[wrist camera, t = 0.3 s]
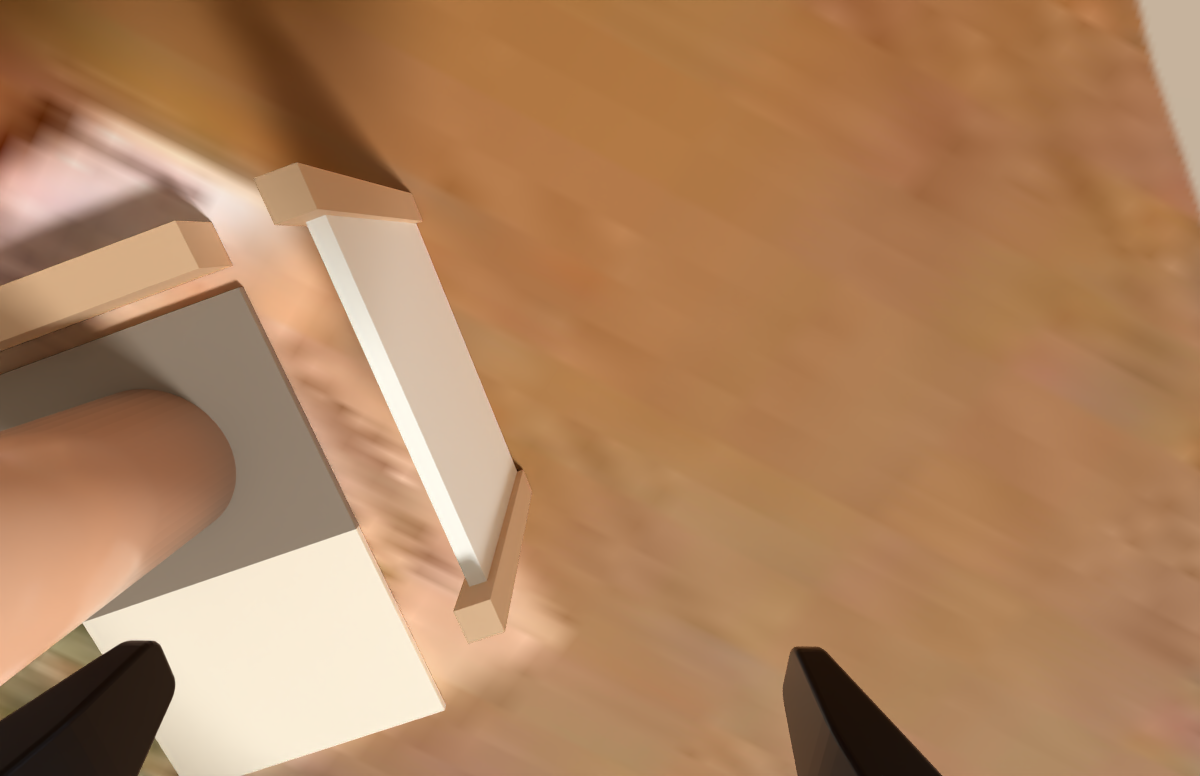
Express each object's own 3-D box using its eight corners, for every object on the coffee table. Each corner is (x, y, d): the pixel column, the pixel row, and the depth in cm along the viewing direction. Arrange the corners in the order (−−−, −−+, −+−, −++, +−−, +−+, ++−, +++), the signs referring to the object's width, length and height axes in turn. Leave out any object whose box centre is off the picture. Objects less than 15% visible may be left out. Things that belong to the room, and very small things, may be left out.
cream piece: (598, 655, 26) (607, 862, 18) (193, 786, 27) (10, 1044, 19) (395, 153, 21) (266, 94, 13) (-91, 334, 22) (-523, 396, 14)
